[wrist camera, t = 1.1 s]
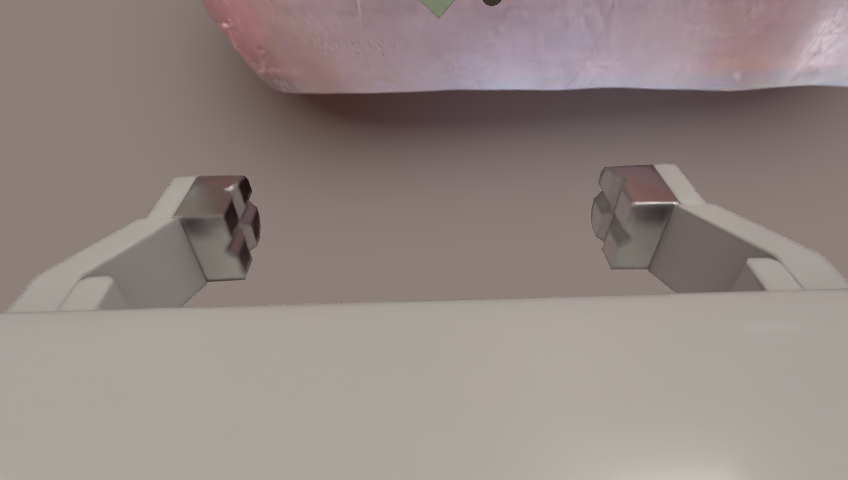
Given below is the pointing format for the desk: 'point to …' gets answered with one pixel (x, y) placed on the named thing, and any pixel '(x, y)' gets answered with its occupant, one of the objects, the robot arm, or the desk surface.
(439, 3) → the cabinet
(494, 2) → the door
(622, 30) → the desk surface
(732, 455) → the robot arm
